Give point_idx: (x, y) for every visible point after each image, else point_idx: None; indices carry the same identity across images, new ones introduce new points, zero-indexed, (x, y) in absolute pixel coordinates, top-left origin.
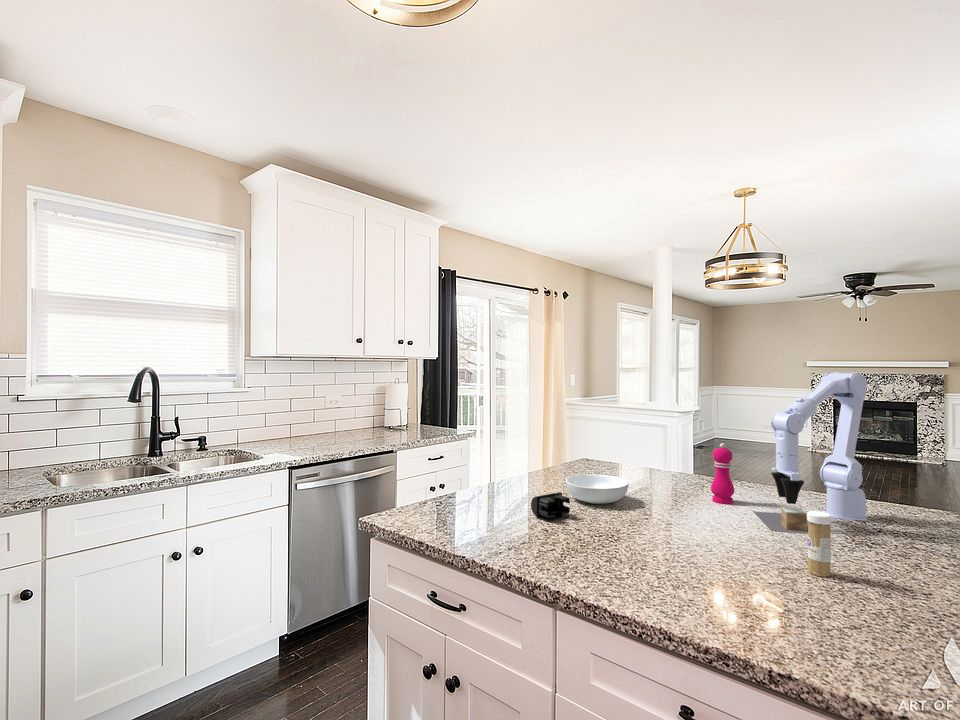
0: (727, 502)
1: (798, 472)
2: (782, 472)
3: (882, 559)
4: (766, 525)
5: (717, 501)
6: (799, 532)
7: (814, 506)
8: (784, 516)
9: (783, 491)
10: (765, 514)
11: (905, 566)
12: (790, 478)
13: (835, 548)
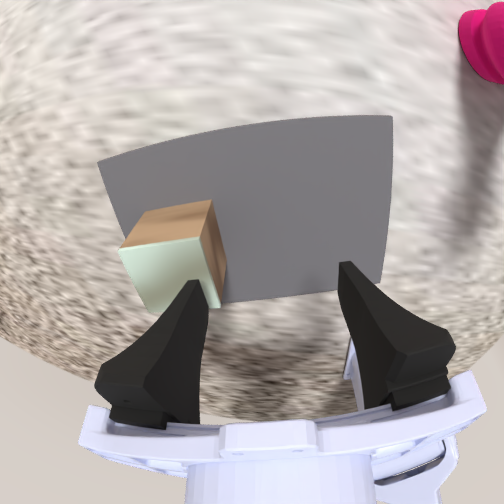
0: (468, 48)
1: (176, 473)
2: (162, 443)
3: (75, 341)
4: (162, 143)
5: (467, 15)
6: None
7: (460, 309)
8: (154, 229)
9: (347, 301)
10: (356, 158)
11: (70, 353)
12: (101, 415)
13: (73, 296)
